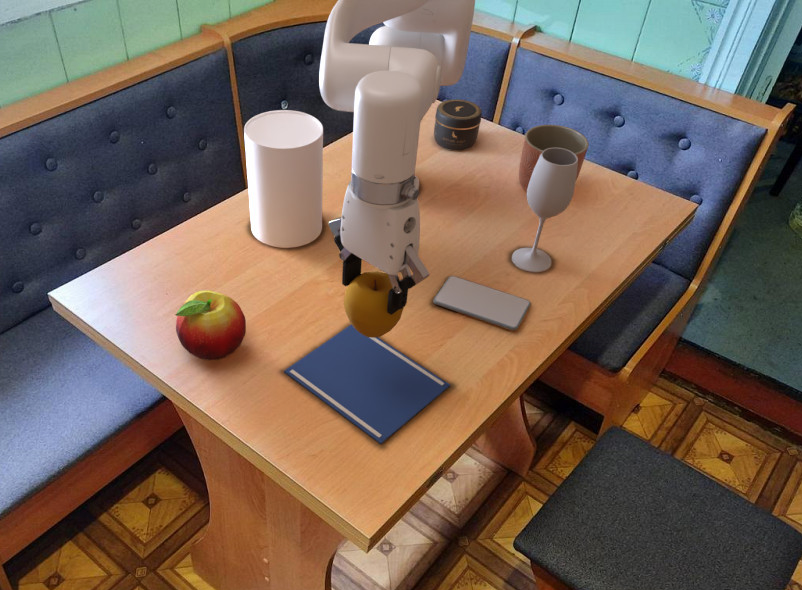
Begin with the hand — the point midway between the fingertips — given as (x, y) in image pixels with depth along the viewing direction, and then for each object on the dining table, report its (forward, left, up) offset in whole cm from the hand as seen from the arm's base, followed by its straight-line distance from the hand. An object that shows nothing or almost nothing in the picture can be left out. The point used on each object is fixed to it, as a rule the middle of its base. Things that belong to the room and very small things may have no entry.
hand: (373, 294), depth 100 cm
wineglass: (+1, +44, -17) cm, 47 cm away
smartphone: (+2, +27, -17) cm, 32 cm away
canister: (-38, +19, -17) cm, 46 cm away
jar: (-36, +69, -17) cm, 79 cm away
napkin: (0, 0, -17) cm, 17 cm away
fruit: (-22, -12, -17) cm, 30 cm away
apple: (0, 0, -7) cm, 7 cm away
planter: (-11, +67, -17) cm, 70 cm away
